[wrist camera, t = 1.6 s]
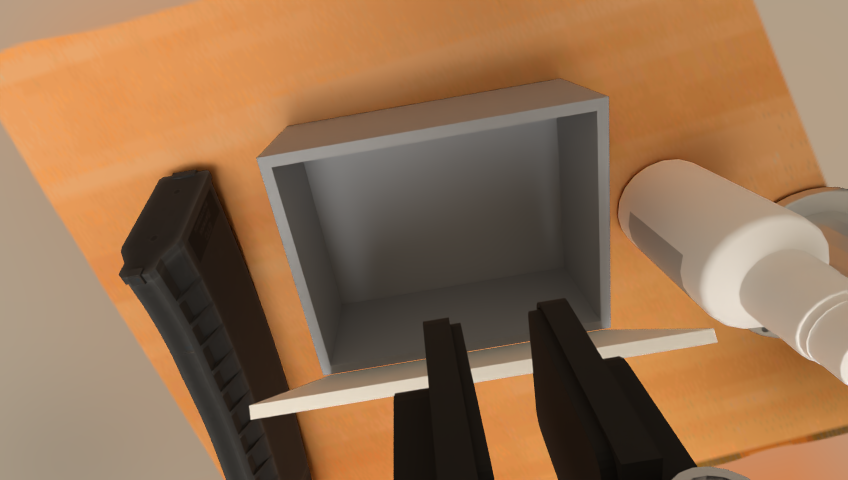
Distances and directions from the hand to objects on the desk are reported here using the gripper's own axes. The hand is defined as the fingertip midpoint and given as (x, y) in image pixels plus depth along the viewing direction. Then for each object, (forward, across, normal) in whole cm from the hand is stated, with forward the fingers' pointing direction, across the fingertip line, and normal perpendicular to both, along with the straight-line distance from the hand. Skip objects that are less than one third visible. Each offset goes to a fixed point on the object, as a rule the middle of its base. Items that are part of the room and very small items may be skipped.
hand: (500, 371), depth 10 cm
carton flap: (+12, 0, +9) cm, 15 cm away
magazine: (+26, +16, +15) cm, 34 cm away
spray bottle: (+25, -16, +8) cm, 31 cm away
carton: (+25, 0, +6) cm, 26 cm away
